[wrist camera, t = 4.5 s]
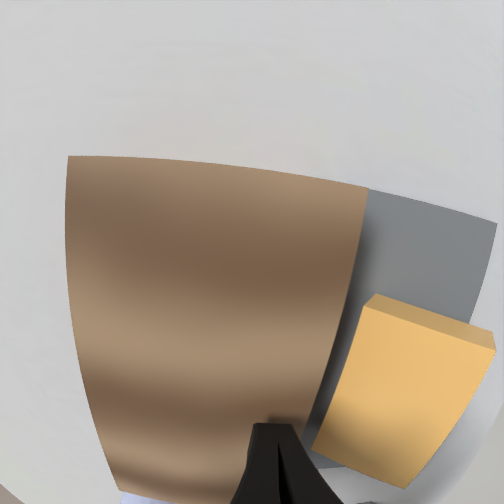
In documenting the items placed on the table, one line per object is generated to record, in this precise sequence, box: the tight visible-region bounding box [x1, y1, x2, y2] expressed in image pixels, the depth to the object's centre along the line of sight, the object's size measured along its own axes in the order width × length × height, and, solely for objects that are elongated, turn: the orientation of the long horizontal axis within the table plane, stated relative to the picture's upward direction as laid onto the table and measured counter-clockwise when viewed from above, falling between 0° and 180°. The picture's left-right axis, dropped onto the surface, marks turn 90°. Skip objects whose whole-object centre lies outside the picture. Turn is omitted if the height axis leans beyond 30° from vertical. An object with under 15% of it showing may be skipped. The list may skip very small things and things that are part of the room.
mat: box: [300, 189, 497, 469], centre depth 14 cm, size 18×11×1 cm, turn 172°
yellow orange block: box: [311, 293, 496, 489], centre depth 12 cm, size 9×6×2 cm
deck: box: [65, 156, 369, 504], centre depth 12 cm, size 18×9×4 cm, turn 172°
